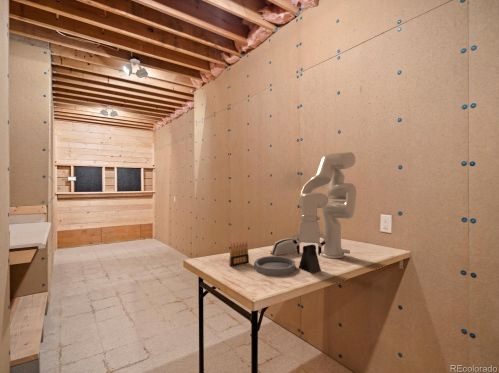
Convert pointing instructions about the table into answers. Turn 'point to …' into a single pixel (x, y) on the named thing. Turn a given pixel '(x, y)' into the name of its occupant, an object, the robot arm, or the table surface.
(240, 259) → the ammunition clip
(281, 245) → the white electronic device
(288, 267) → the round tray
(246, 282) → the table surface
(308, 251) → the phone stand
